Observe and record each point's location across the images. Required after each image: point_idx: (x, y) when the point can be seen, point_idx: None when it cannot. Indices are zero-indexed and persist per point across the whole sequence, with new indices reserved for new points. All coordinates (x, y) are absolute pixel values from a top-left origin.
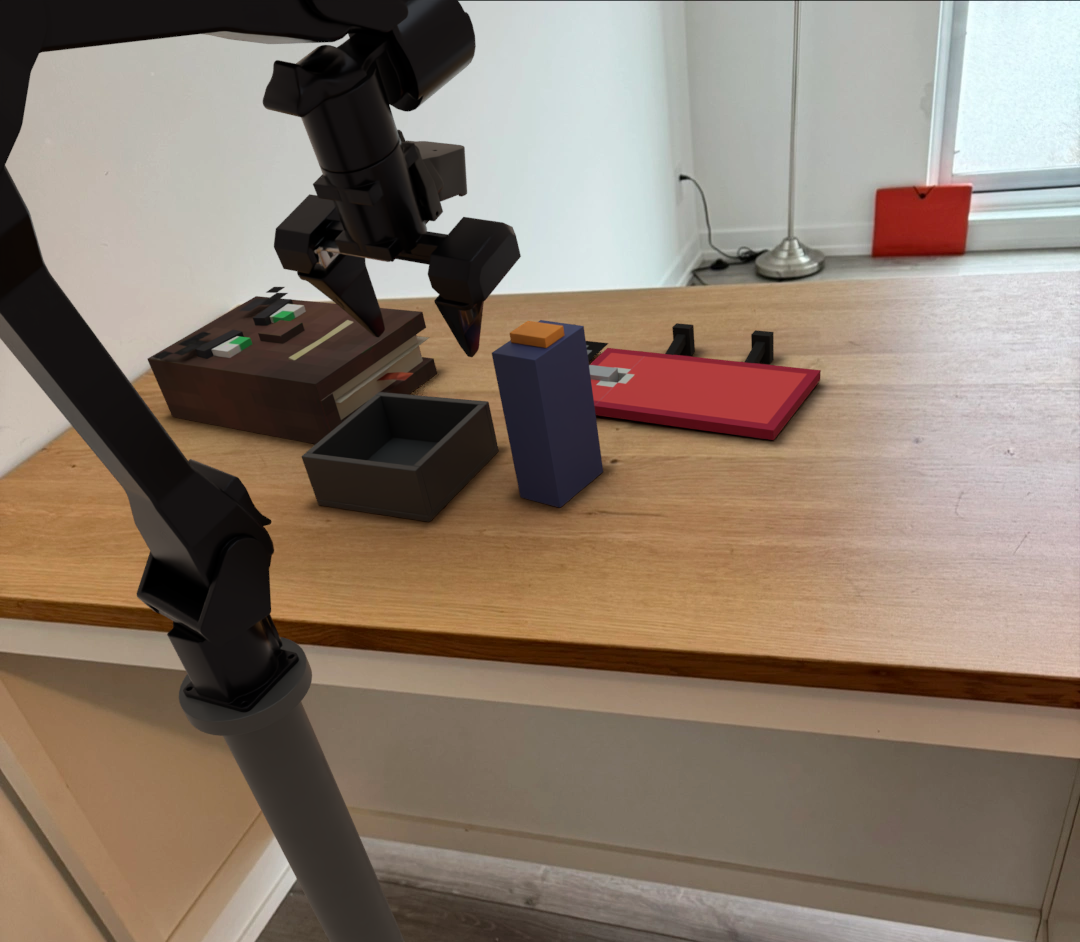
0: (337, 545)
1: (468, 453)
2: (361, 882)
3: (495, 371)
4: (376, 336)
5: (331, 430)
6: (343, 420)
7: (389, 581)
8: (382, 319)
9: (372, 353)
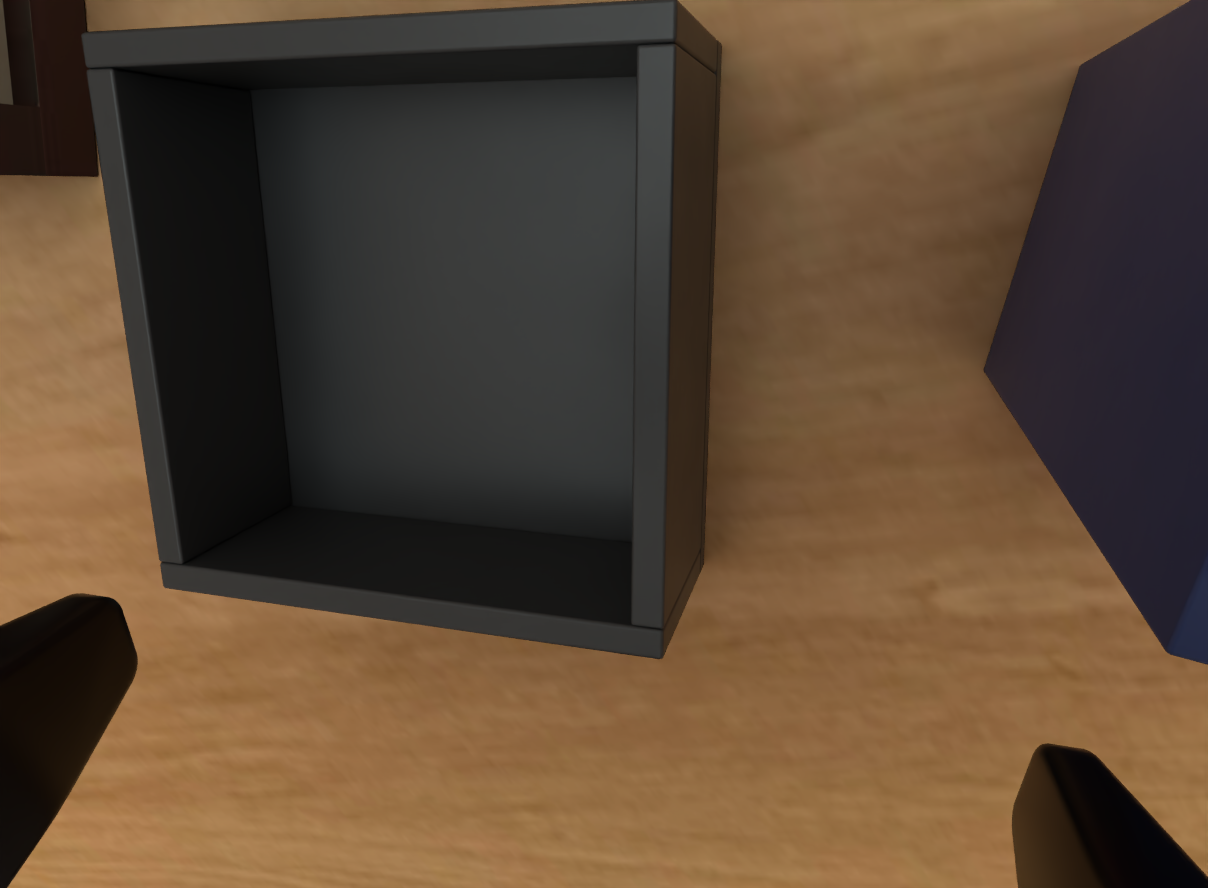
0: (483, 701)
1: (696, 271)
2: None
3: (1122, 580)
4: (125, 689)
5: (40, 172)
6: (20, 75)
7: (746, 849)
8: (49, 656)
9: None
